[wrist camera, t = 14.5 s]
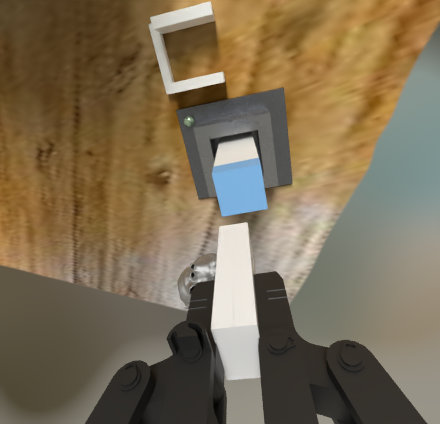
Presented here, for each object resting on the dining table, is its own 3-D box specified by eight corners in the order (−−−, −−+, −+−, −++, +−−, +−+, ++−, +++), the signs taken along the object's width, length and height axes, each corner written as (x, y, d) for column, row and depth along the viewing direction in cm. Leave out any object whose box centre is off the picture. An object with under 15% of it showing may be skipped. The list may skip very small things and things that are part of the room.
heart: (165, 264, 45) (158, 331, 35) (198, 223, 41) (201, 286, 31) (216, 286, 49) (222, 352, 39) (250, 251, 45) (267, 314, 35)
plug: (219, 137, 35) (211, 174, 23) (251, 131, 35) (260, 164, 22) (226, 167, 37) (222, 216, 24) (256, 161, 36) (267, 208, 24)
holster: (151, 25, 31) (140, 19, 27) (213, 10, 30) (210, 1, 26) (168, 93, 34) (161, 96, 30) (225, 80, 33) (224, 82, 29)
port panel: (177, 109, 34) (168, 115, 30) (283, 87, 33) (290, 89, 28) (199, 197, 40) (194, 213, 35) (291, 181, 38) (299, 196, 34)
